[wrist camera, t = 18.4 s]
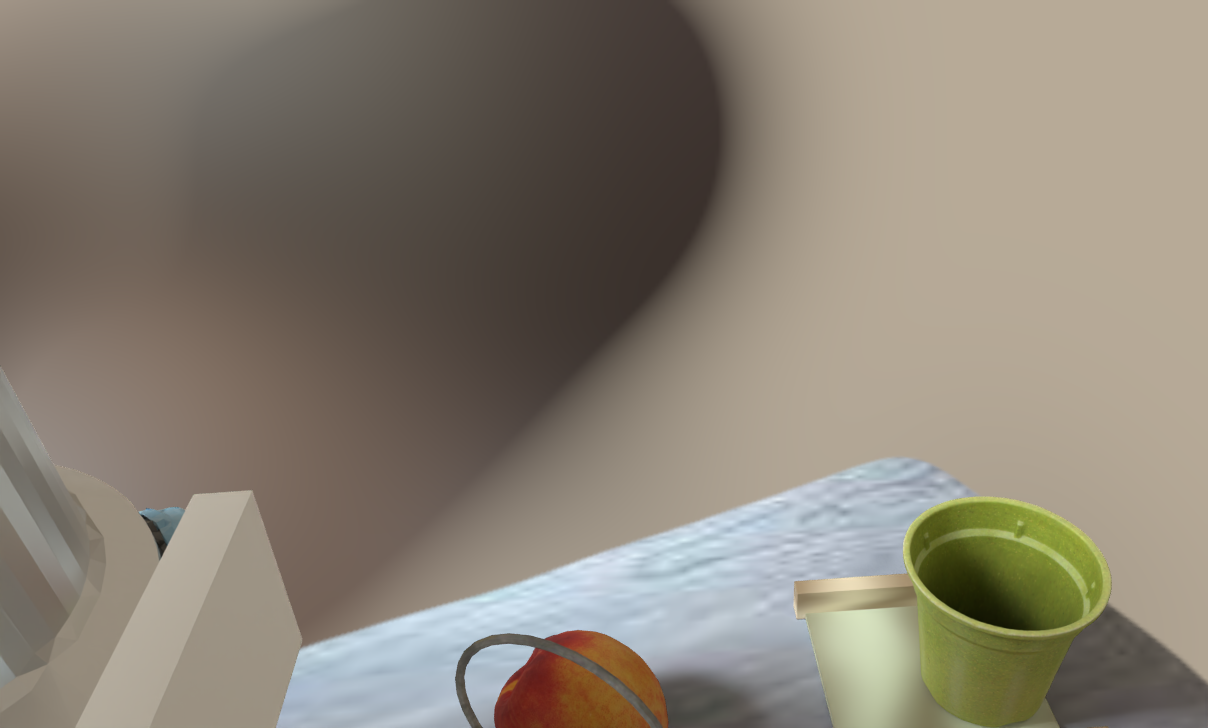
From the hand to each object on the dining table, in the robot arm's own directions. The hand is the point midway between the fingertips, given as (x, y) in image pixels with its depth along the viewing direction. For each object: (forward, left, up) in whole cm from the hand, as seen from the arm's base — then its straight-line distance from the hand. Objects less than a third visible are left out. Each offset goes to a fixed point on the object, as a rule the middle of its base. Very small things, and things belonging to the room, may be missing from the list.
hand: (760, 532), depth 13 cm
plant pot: (+16, +26, -35) cm, 46 cm away
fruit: (-5, +23, -35) cm, 42 cm away
